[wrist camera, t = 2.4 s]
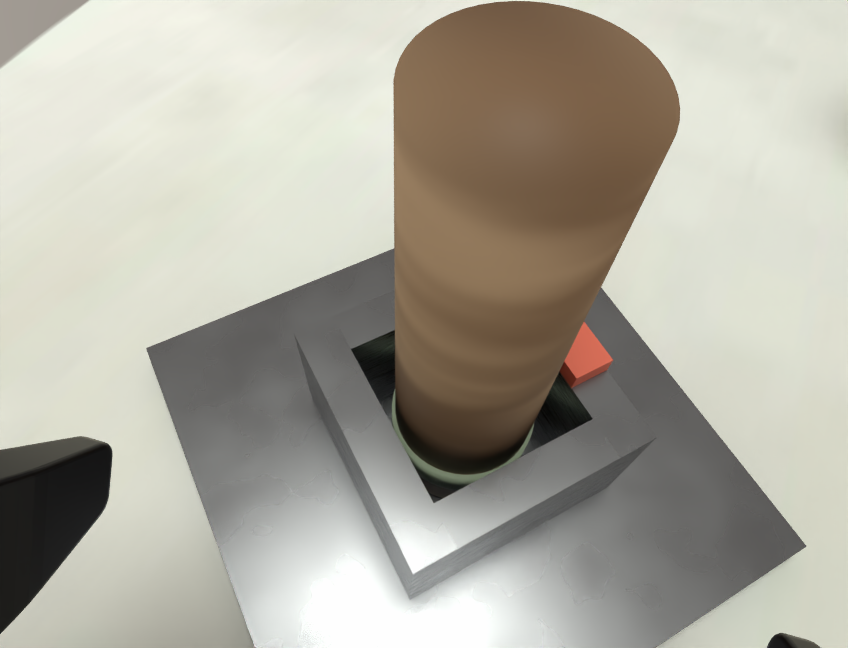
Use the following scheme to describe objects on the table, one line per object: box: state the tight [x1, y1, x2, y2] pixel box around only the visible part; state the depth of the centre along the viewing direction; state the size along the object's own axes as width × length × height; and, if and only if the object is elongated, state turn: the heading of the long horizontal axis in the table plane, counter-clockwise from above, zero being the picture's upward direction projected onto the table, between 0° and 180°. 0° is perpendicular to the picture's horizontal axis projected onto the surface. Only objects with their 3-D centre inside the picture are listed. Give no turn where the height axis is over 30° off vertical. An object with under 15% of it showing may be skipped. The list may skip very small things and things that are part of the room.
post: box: [392, 1, 680, 498], centre depth 15 cm, size 4×4×14 cm
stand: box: [146, 249, 806, 648], centre depth 19 cm, size 16×16×6 cm
